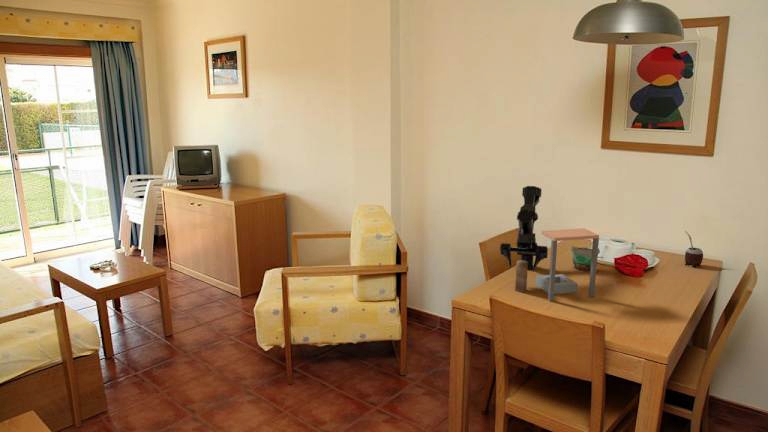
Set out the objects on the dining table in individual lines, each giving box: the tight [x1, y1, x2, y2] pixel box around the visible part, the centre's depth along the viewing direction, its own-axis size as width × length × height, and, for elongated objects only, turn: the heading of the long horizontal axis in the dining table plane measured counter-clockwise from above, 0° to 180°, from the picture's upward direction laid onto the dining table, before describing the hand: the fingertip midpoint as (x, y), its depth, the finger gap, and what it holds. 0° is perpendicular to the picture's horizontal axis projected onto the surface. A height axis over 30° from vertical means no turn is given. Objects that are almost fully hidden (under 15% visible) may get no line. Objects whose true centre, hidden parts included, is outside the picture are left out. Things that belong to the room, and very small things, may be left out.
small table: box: [535, 228, 600, 302], centre depth 210 cm, size 19×18×25 cm
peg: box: [514, 259, 529, 293], centre depth 213 cm, size 4×4×12 cm
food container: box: [570, 245, 601, 272], centre depth 237 cm, size 12×6×10 cm, turn 62°
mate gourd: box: [684, 230, 704, 268], centre depth 240 cm, size 8×8×15 cm
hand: (521, 268), depth 213 cm, fingers open, 9 cm apart
